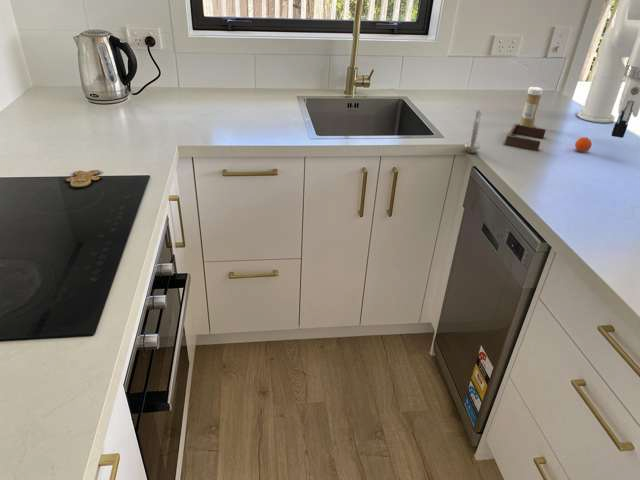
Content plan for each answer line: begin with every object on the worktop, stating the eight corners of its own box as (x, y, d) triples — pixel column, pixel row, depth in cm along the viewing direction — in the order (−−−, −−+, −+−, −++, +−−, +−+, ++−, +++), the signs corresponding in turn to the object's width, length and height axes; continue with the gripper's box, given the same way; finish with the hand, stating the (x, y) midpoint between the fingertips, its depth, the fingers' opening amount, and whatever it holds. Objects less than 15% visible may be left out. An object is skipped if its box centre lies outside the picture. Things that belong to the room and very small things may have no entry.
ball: (573, 147, 154) (578, 134, 152) (589, 150, 152) (593, 137, 150) (572, 152, 151) (577, 138, 148) (588, 155, 149) (593, 141, 147)
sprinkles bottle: (535, 127, 171) (546, 88, 163) (527, 129, 168) (537, 90, 161) (524, 123, 174) (534, 85, 167) (516, 125, 172) (526, 87, 164)
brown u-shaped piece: (512, 132, 165) (514, 123, 164) (543, 137, 161) (546, 129, 160) (505, 144, 155) (507, 135, 154) (537, 150, 151) (540, 141, 150)
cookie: (103, 168, 130) (95, 183, 122) (104, 171, 131) (96, 187, 122) (70, 169, 129) (60, 185, 121) (71, 172, 130) (61, 188, 121)
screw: (482, 153, 148) (469, 155, 147) (472, 148, 152) (459, 150, 150) (491, 111, 141) (477, 113, 140) (480, 107, 145) (467, 108, 143)
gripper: (656, 80, 128) (631, 146, 137) (654, 70, 139) (631, 131, 149) (624, 76, 131) (602, 141, 140) (624, 66, 142) (604, 127, 152)
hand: (617, 136), depth 145 cm, fingers closed
